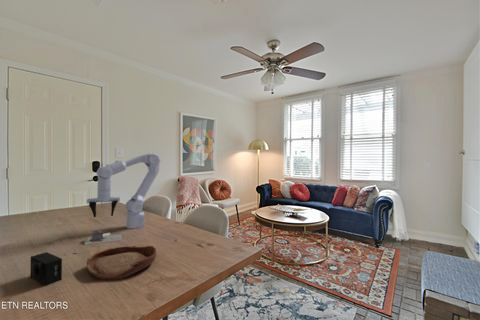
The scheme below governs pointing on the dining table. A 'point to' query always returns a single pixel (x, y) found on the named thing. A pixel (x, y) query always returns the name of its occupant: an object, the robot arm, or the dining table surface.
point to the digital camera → (46, 268)
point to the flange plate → (105, 239)
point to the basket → (120, 261)
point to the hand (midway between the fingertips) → (103, 216)
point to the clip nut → (96, 235)
